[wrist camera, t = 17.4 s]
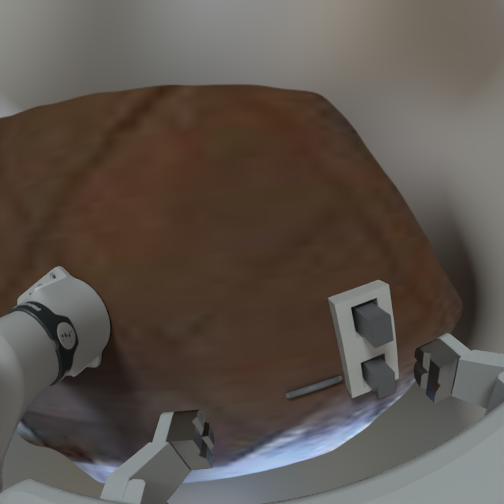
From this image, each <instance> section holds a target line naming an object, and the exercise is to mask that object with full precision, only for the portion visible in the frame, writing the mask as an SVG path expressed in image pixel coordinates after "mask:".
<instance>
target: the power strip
mask: <svg viewBox="0 0 504 504" xmlns="http://www.w3.org/2000/svg"><path fill="white" fill-rule="evenodd" d="M369 300H370V301H371V302H372V303H374V304H375V305H377V306H378V307H380V308H381V309H383V310H384V311H385V312H387V313H388V314H390V315H391V322H392V330H393V339H394V341H391V342H389V343H387V344H384V345H382V346H380V347H377V348H374V347H373V346H372V345H371V344H370V343H369V342H368V341H367V340H366V339H365V338H364V337H363V336H362V335H361V334H360V333H359V332H358V331H357V330H356V329H355V327H354V321H353V316H352V311H351V307H353V306H356V305H359V304H362V303H364V302H367V301H369ZM328 301H329V305H330V310H331V314H332V319H333V323H334V328H335V333H336V337H337V342H338V347H339V352H340V357H341V362H342V367H343V372H344V378H345V383H346V388H347V390H348V391H349V393H350V395H351V397H352V398H354V397H357V396H359V395H362V394H364V393H367V392H369V391H371V390H373V392H374V393H375V394H376V396H377V397H378V399H380V398H382V397H385V396H387V395H389V394H391V393H393V392H396V386H395V380H396V379H398V378H399V375H398V359H397V347H396V336H395V327H394V319H393V311H392V304H391V297H390V290H389V284H387V283H385V282H383V281H380V280H376V281H374V282H371V283H368V284H366V285H363V286H360V287H357V288H355V289H352V290H349V291H346V292H343V293H340V294H338V295H335V296H332V297H329V298H328ZM342 379H343V378H342V376H336V377H333V378H331V379H328V380H325V381H322V382H319V383H316V384H313V385H310V386H307V387H303V388H300V389H297V390H294V391H290V392H287V393H286V394H285V396H286V398H288V399H290V398H293V397H297V396H300V395H303V394H306V393H310V392H313V391H316V390H319V389H322V388H325V387H328V386H330V385H333V384H336V383H339V382H341V381H342Z"/></svg>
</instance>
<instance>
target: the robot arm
mask: <svg viewBox="0 0 504 504" xmlns="http://www.w3.org/2000/svg"><path fill="white" fill-rule="evenodd" d="M54 275H55V276H56V278H55V276H54ZM17 303H18V305H17V306H16V307H14V308H13V309H12V310H10V311H9V312H8V314H7V315H5V316H3V317H1V318H0V504H168V503H167V502H166V501H167V500H168V499H169V498H170V496H171V495H172V494H173V493H174V492H175V490H176V489H177V488H178V487H179V485H180V484H181V483H182V482H183V480H184V479H185V478H186V477H187V475H188V474H189V473H190V472H191V470H197V469H208V468H212V466H213V453H212V452H211V449H212V448H213V447H214V441H215V440H214V433H213V430H212V428H211V426H210V424H209V423H207V422H205V415H204V413H203V411H202V410H189V411H178V412H167V413H162V414H161V416H160V419H159V422H158V425H157V429H156V432H155V435H154V438H153V441H152V443H148V444H147V445H145V446H144V447H143V448H142V449H141V450H139V451H138V452H137V453H136V454H135V455H133V456H132V457H131V458H130V459H129V460H127V461H126V462H125V463H124V464H122V465H121V466H120V467H119V468H117V469H116V470H115V471H114V472H112V473H111V474H110V475H109V476H108V478H107V481H106V484H105V486H104V489H103V492H102V494H101V497H100V499H98V498H94V497H90V496H85V495H82V494H78V493H74V492H70V491H67V490H63V489H60V488H57V487H54V486H50V485H48V484H45V483H42V482H39V481H37V480H33V479H26V480H24V481H22V482H19V483H17V484H15V485H14V486H12V487H10V488H8V489H6V490H4V491H3V492H2V488H3V481H2V469H3V463H4V459H5V455H6V452H7V450H8V447H9V444H10V442H11V439H12V437H13V434H14V432H15V430H16V428H17V426H18V424H19V422H20V420H21V418H22V416H23V415H24V413H25V412H26V410H27V409H28V408H29V406H30V405H31V404H32V403H33V402H34V401H35V400H36V399H37V398H38V397H39V396H40V395H41V394H42V393H43V392H44V391H45V390H46V389H47V388H48V387H49V386H52V385H54V384H56V383H57V382H59V381H60V380H62V379H63V378H64V377H65V376H67V375H68V376H73V377H74V376H76V375H77V374H79V373H80V372H81V371H82V370H84V369H85V368H86V367H97V366H99V365H100V363H101V356H102V351H103V349H104V348H105V346H106V345H107V343H108V340H109V336H110V321H109V316H108V313H107V310H106V308H105V306H104V304H103V302H102V300H101V299H100V297H99V296H98V294H97V293H96V292H95V291H94V290H93V289H92V288H91V287H90V286H89V285H87V284H86V283H84V282H83V281H81V280H79V279H76V278H74V277H72V276H71V275H70V274H69V273H68V272H67V271H66V270H65V269H64V268H63V267H61V266H58V267H56V268H54V269H53V270H51V271H50V272H49V273H48V274H46V275H45V276H44V277H43V278H41V279H40V280H39V281H38V282H37V283H35V284H34V285H33V286H32V287H31V288H29V289H28V290H27V291H26V292H25V293H23V294H22V295H21V296H20V297H19V298H18V302H17ZM415 358H416V359H417V362H416V363H415V365H414V376H415V380H416V381H417V383H418V385H419V386H420V387H422V388H425V389H426V395H427V396H428V397H429V398H430V400H431V401H432V402H433V403H434V404H435V403H436V402H438V401H440V400H442V399H444V398H446V397H448V396H450V395H452V396H454V397H457V398H459V399H462V400H464V401H467V402H470V403H472V404H475V405H478V406H481V407H483V408H486V409H487V410H486V413H485V415H484V417H482V418H481V419H479V420H478V421H477V422H475V423H474V424H472V425H471V426H469V427H468V428H466V429H465V430H463V431H461V432H460V433H458V434H457V435H455V436H453V437H452V438H450V439H449V440H447V441H445V442H443V443H442V444H440V445H438V446H436V447H434V448H432V449H431V450H429V451H427V452H425V453H423V454H421V455H419V456H417V457H415V458H413V459H411V460H409V461H407V462H404V463H402V464H400V465H398V466H396V467H393V468H391V469H389V470H386V471H384V472H381V473H379V474H376V475H374V476H371V477H368V478H365V479H363V480H360V481H357V482H354V483H351V484H348V485H345V486H341V487H338V488H335V489H331V490H328V491H324V492H320V493H316V494H312V495H308V496H303V497H299V498H294V499H289V500H284V501H278V502H271V503H264V504H504V354H498V353H492V352H485V351H478V350H473V351H470V350H469V349H468V348H467V347H465V346H464V345H463V344H462V343H460V342H459V341H458V340H457V339H455V338H454V337H453V336H452V335H450V334H448V333H446V334H444V335H442V336H441V337H439V338H437V339H435V340H433V341H431V342H429V343H427V344H425V345H423V346H420V347H418V348H416V350H415Z"/></svg>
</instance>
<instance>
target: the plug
mask: <svg viewBox="0 0 504 504" xmlns="http://www.w3.org/2000/svg"><path fill="white" fill-rule="evenodd" d="M351 311H352V316H353V321H354V327H355V329H356V330H357V331H358V332H359V333H360V334H361V335H362V336H363V337H364V338H365V339H366V340H367V341H368V342H369V343H370V344H371V345H372V346H373V347H374V348H377V347H380V346H382V345H384V344H387V343H389V342H391V341H394V339H393V330H392V322H391V315H390V314H388V313H387V312H385V311H384V310H383V309H381V308H380V307H378V306H377V305H375V304H374V303H372V302H371V301H370V300H369V301H367V302H364V303H362V304H359V305H356V306H353V307H351Z"/></svg>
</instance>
